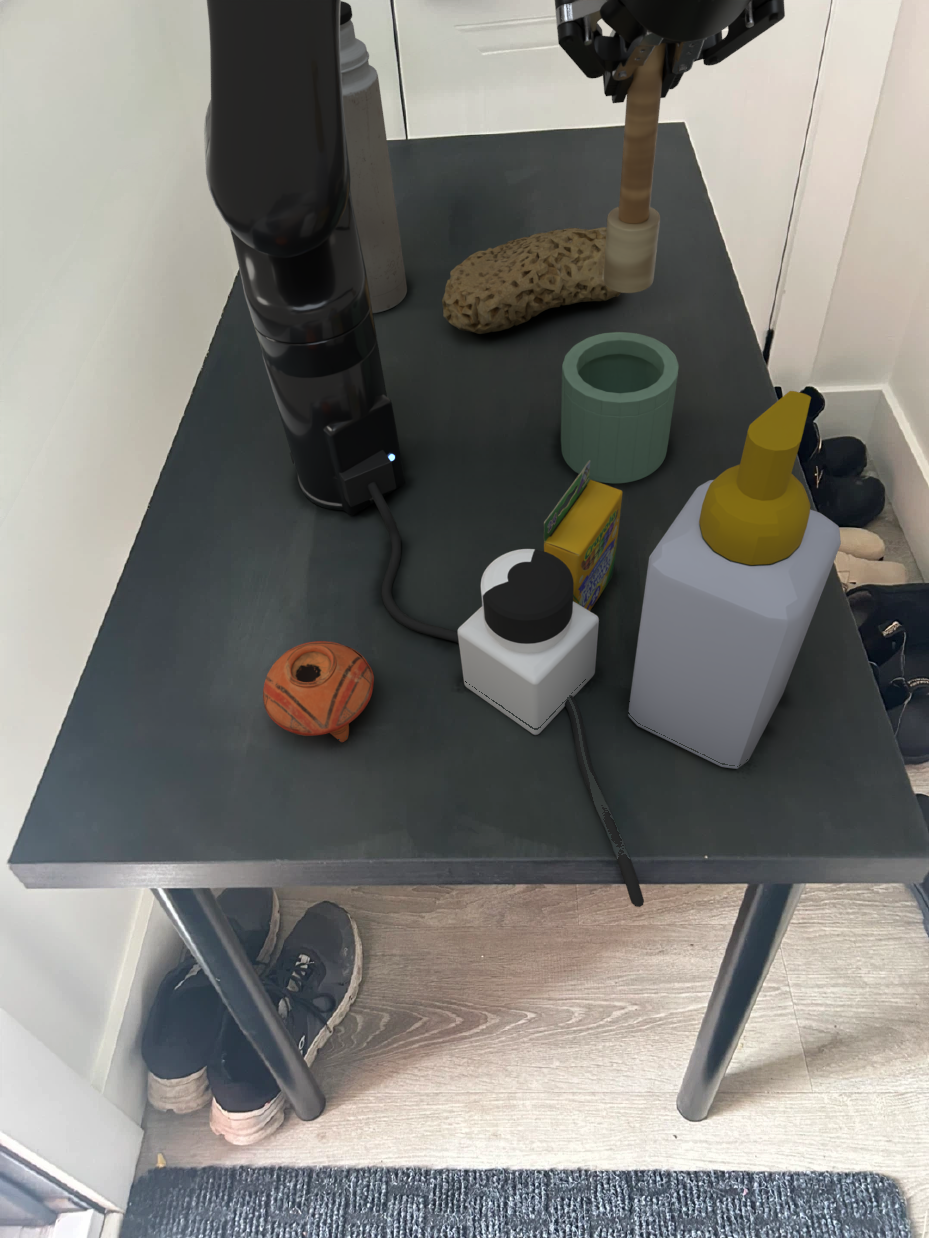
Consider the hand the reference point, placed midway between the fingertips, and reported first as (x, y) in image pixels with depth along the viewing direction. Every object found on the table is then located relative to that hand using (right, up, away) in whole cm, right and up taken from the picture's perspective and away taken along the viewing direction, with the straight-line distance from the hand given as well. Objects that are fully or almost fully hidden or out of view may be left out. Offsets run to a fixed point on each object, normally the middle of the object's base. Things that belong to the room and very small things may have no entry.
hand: (636, 85), depth 59 cm
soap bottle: (+6, -42, +5) cm, 43 cm away
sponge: (-4, -2, +37) cm, 37 cm away
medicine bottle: (-7, -41, +7) cm, 42 cm away
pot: (-22, -43, +7) cm, 48 cm away
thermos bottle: (-22, +1, +41) cm, 46 cm away
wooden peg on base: (+1, -10, +9) cm, 13 cm away
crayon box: (-2, -35, +11) cm, 36 cm away
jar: (+2, -20, +22) cm, 30 cm away
